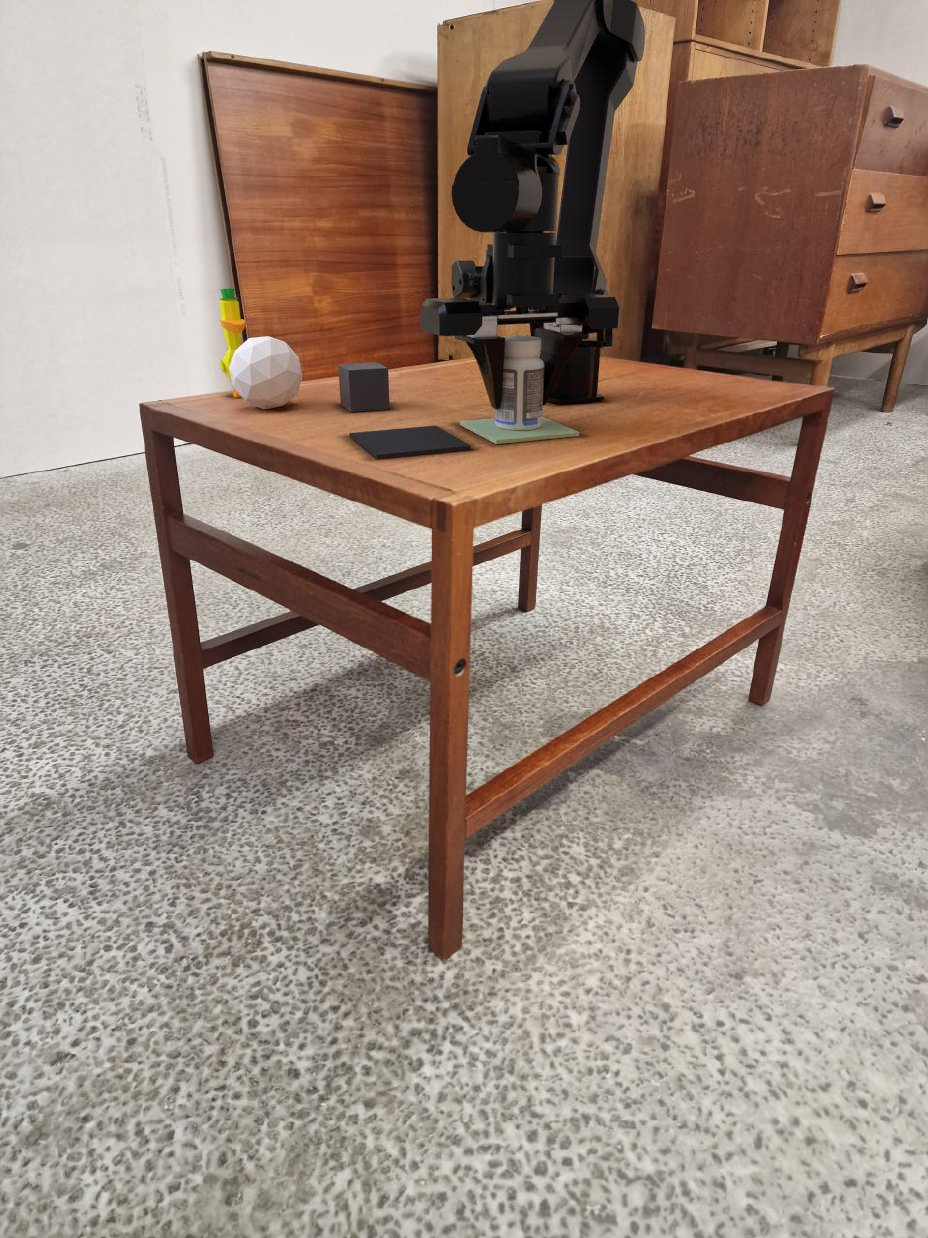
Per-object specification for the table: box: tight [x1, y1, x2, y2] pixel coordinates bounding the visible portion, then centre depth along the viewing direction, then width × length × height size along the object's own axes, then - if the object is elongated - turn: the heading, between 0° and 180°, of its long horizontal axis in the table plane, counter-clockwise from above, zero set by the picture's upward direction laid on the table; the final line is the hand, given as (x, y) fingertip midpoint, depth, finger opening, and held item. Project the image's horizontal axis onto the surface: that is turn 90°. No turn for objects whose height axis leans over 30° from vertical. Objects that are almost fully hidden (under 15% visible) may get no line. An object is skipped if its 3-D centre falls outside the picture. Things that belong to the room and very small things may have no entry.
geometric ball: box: [229, 335, 303, 411], centre depth 89 cm, size 8×8×8 cm
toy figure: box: [219, 288, 247, 398], centre depth 94 cm, size 7×4×12 cm, turn 26°
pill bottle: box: [494, 335, 544, 430], centre depth 79 cm, size 5×5×8 cm
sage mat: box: [459, 416, 580, 445], centre depth 80 cm, size 9×9×1 cm
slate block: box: [337, 361, 391, 413], centre depth 90 cm, size 4×4×4 cm
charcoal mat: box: [348, 425, 472, 460], centre depth 75 cm, size 9×9×1 cm
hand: (518, 406), depth 80 cm, fingers closed on pill bottle, 5 cm apart
